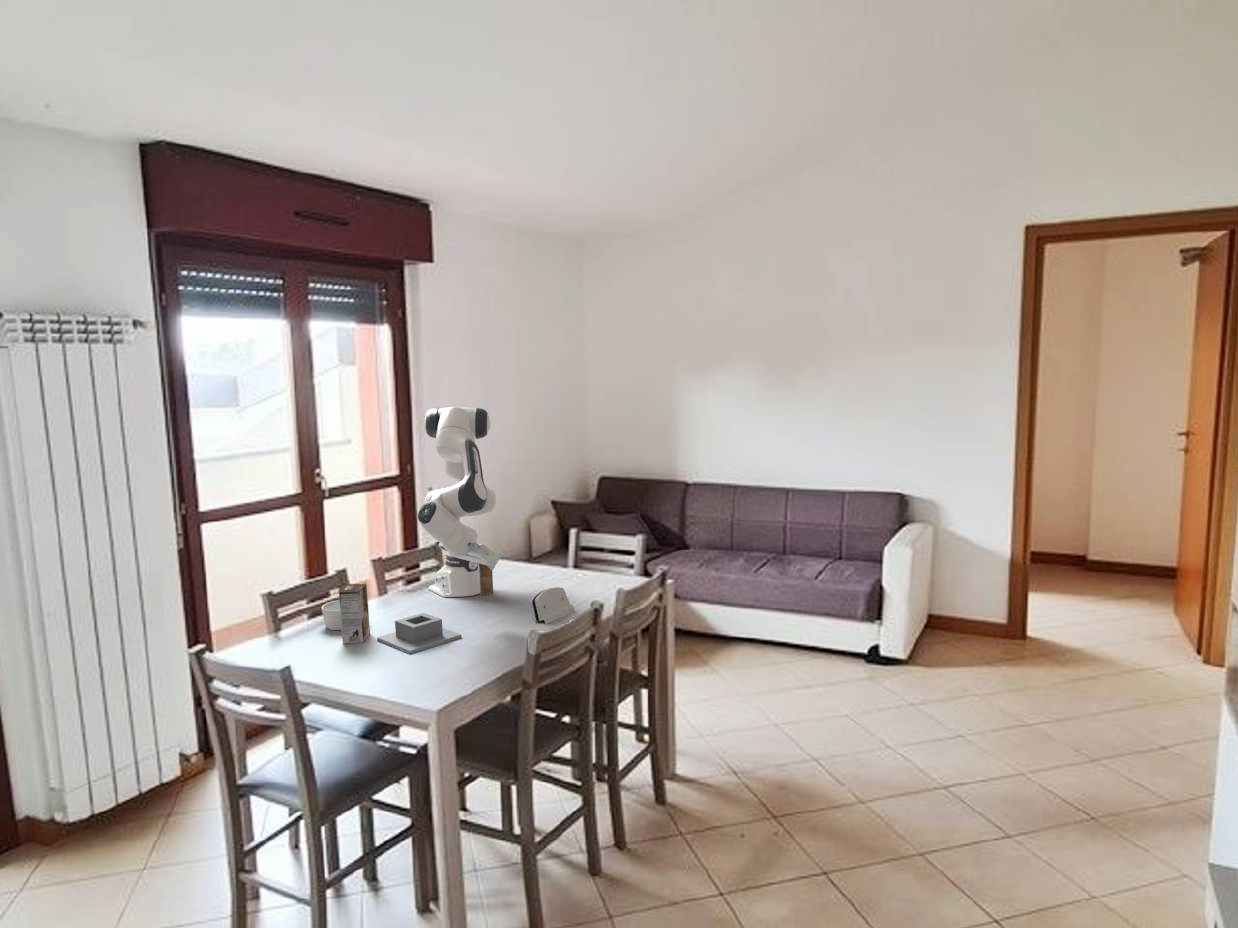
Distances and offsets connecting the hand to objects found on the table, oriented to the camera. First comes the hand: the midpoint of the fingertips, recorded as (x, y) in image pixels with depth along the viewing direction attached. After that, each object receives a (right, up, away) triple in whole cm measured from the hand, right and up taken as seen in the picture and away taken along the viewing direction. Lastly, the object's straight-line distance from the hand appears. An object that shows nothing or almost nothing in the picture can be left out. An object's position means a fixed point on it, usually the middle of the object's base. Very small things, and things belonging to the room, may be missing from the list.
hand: (487, 566), depth 246 cm
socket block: (-19, -21, -7) cm, 30 cm away
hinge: (+19, -18, +13) cm, 29 cm away
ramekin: (-47, -20, +8) cm, 52 cm away
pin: (0, -9, +1) cm, 9 cm away
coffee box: (-39, -22, -5) cm, 45 cm away
